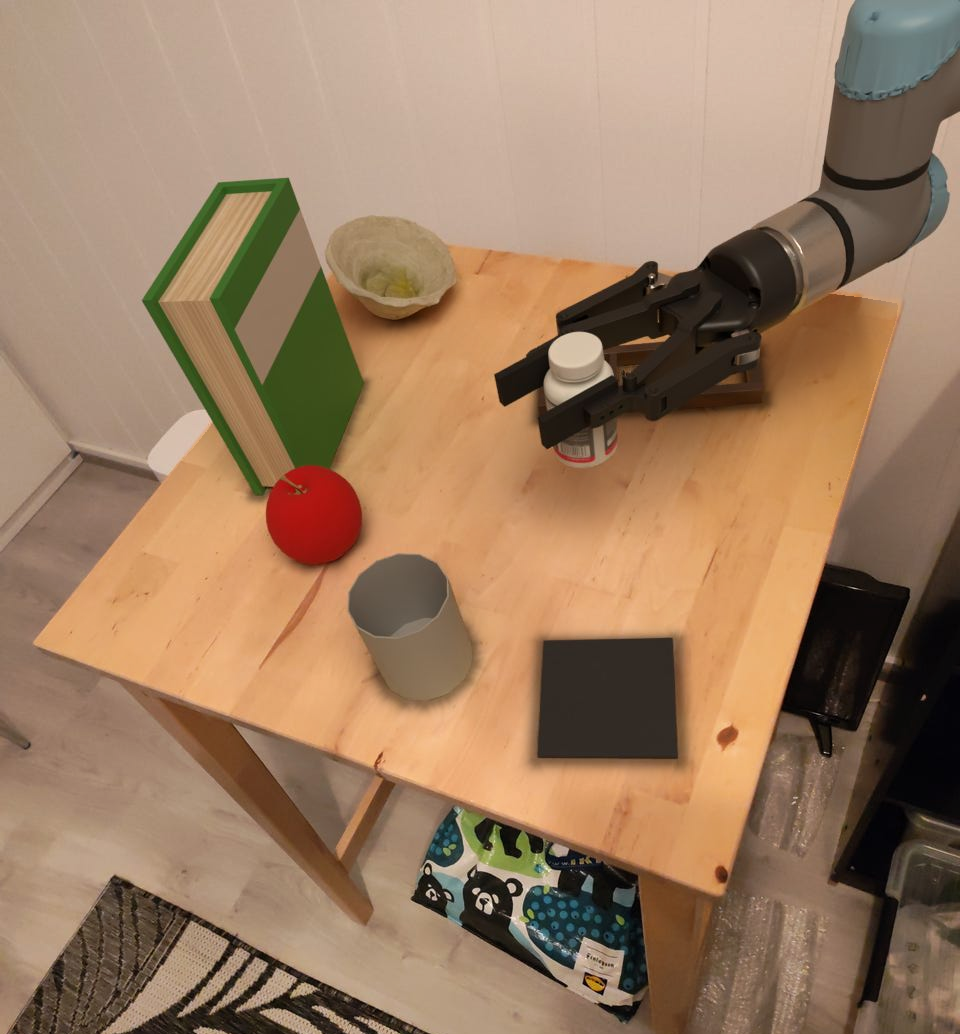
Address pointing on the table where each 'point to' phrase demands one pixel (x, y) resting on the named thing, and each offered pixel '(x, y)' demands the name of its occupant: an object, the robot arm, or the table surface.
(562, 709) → the mat
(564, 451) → the pill bottle
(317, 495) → the fruit
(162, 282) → the hardback book
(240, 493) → the table surface
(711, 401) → the bottle rack
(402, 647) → the cup
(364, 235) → the bowl
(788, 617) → the table surface
